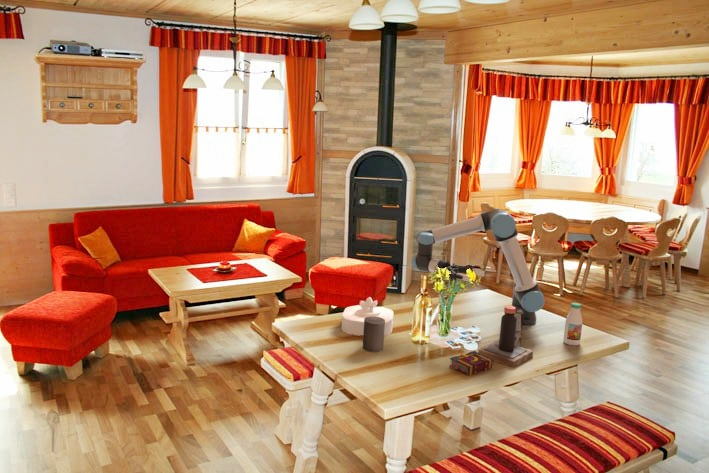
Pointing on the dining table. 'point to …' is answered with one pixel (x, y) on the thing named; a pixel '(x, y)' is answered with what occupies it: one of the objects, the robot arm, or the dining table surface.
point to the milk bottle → (573, 325)
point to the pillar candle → (373, 334)
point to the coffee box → (519, 326)
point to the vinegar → (508, 329)
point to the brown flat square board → (506, 354)
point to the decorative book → (471, 363)
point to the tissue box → (358, 313)
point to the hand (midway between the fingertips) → (476, 276)
